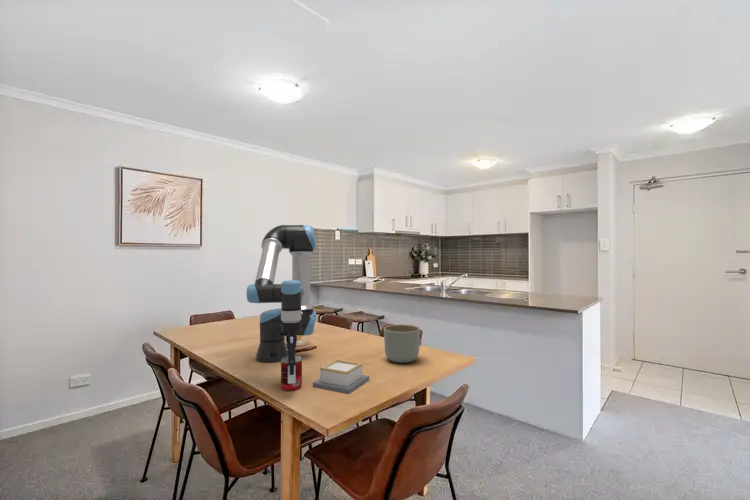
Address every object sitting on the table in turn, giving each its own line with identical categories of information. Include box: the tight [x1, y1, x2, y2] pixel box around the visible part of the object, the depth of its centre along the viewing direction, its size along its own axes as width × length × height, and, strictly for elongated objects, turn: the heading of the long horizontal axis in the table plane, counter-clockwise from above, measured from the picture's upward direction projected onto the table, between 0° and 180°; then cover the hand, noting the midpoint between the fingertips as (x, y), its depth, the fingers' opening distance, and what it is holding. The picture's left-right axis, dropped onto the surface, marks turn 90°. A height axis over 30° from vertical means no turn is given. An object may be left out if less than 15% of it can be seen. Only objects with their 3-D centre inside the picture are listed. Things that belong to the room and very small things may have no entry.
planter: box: [383, 323, 421, 364], centre depth 173 cm, size 17×17×15 cm
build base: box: [312, 358, 370, 394], centre depth 143 cm, size 16×16×7 cm
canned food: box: [280, 355, 303, 392], centre depth 139 cm, size 8×8×11 cm
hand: (291, 377), depth 139 cm, fingers open, 13 cm apart
